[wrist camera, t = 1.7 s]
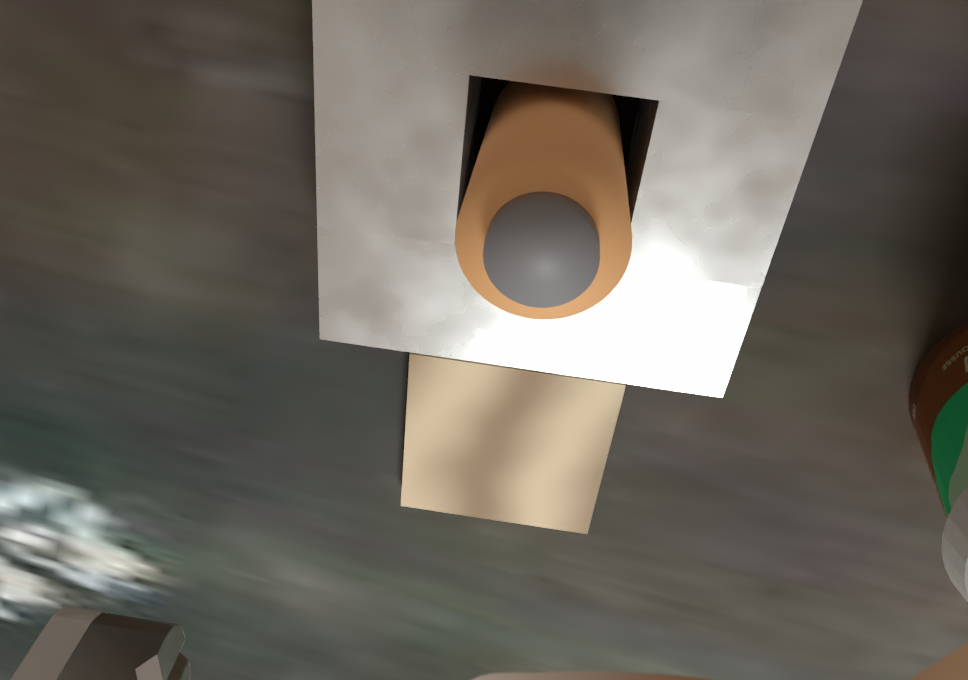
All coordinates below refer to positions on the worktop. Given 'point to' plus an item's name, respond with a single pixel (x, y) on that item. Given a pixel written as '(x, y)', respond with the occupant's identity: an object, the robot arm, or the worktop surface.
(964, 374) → the food container
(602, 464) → the coaster
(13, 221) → the worktop surface
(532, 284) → the tan grey-topped cylinder
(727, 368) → the housing
